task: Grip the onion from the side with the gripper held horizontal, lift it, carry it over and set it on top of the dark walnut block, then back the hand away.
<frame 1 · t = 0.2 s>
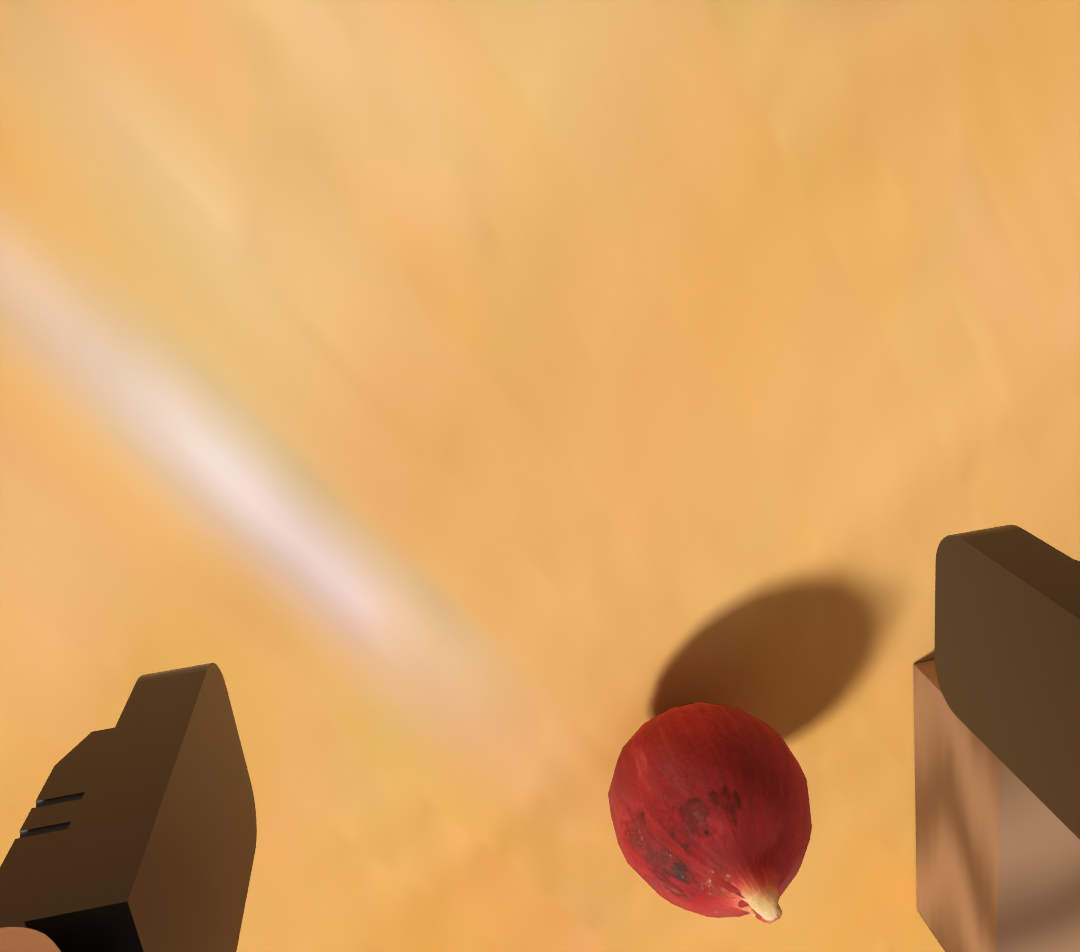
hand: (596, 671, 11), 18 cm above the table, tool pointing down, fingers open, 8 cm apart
onion: (671, 729, 33), on the table
walnut block: (1057, 759, 36), on the table
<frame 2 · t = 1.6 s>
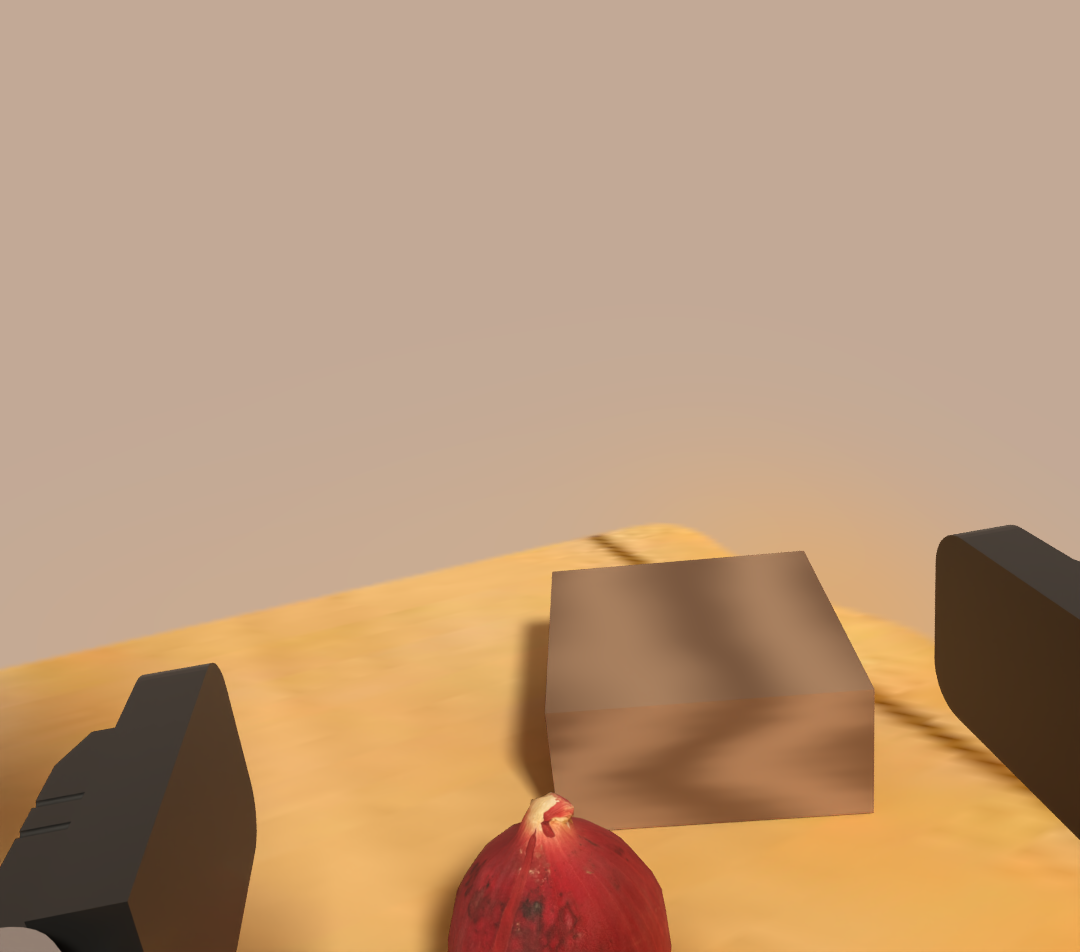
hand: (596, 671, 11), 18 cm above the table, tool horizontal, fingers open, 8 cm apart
walnut block: (697, 731, 40), on the table
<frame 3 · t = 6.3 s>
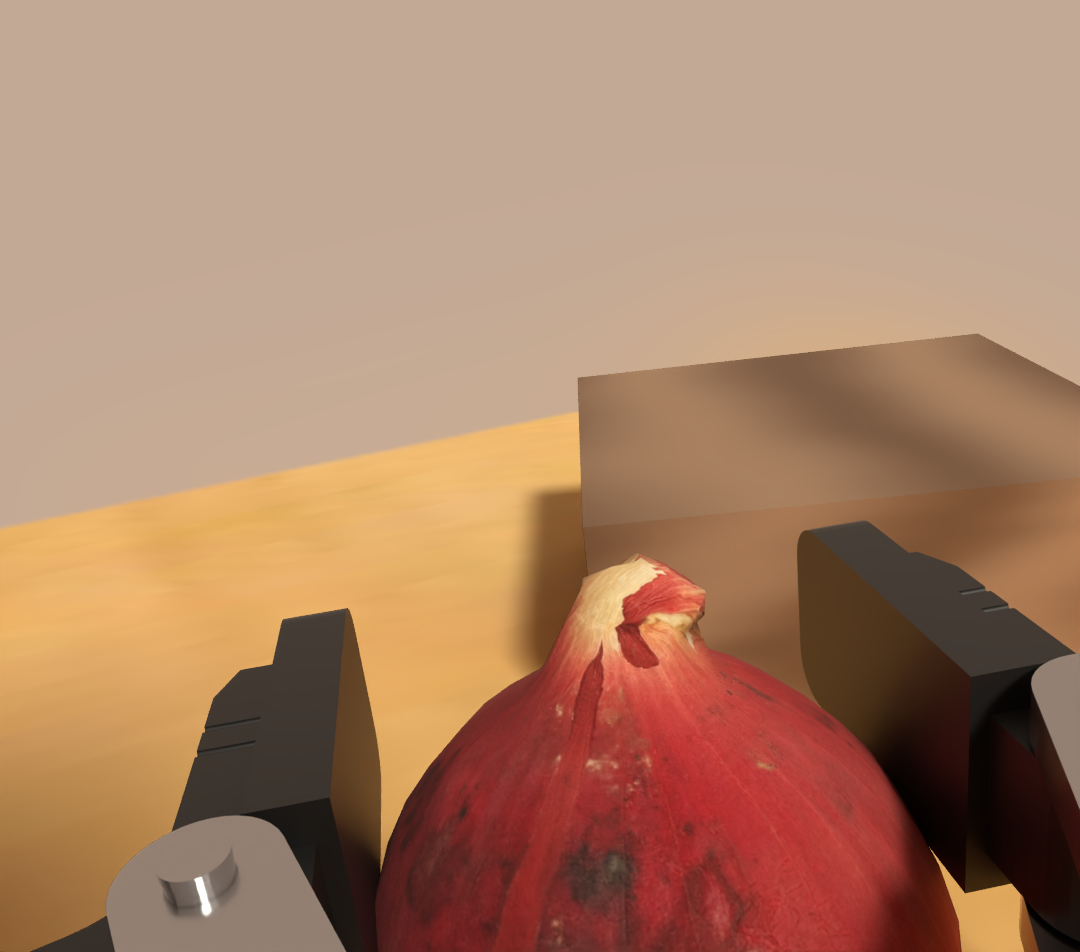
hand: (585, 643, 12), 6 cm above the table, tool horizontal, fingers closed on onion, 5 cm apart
walnut block: (828, 608, 24), on the table
when the fingers open (12 cm above the table, at t = 10.8 s): onion drops 1 cm, resting on walnut block.
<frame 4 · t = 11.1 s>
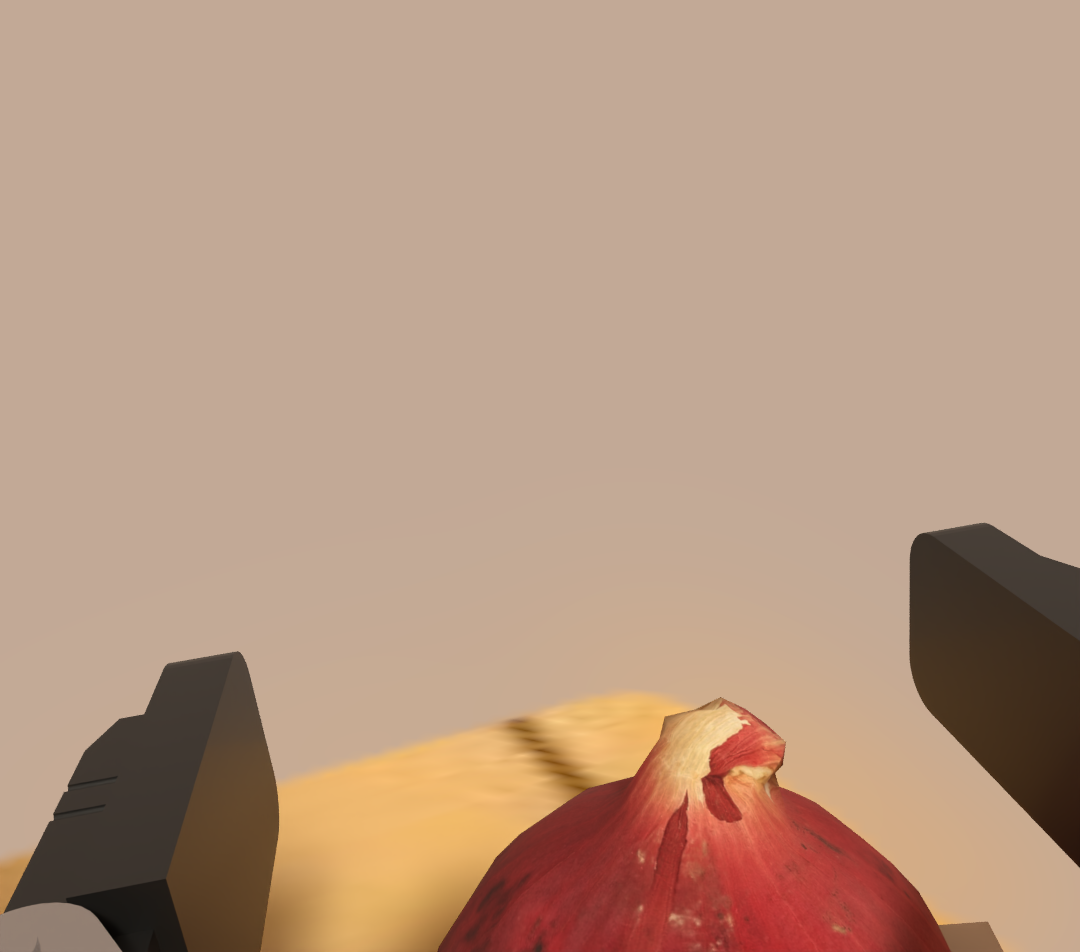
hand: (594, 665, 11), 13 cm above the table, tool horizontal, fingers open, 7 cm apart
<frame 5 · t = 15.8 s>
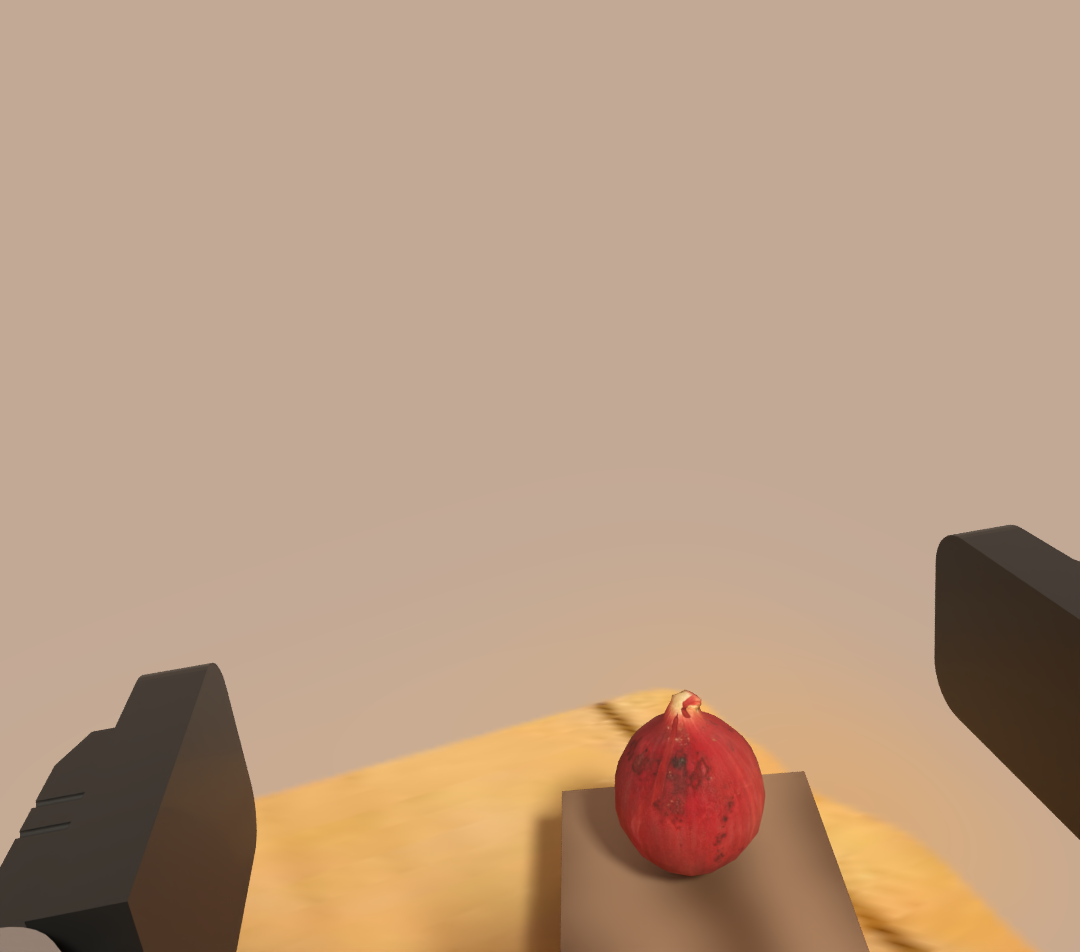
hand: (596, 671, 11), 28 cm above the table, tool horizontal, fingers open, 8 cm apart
onion: (695, 873, 40), point 5 cm above the table, touching walnut block
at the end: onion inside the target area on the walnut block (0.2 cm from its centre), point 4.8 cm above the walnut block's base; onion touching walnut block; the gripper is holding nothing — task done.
